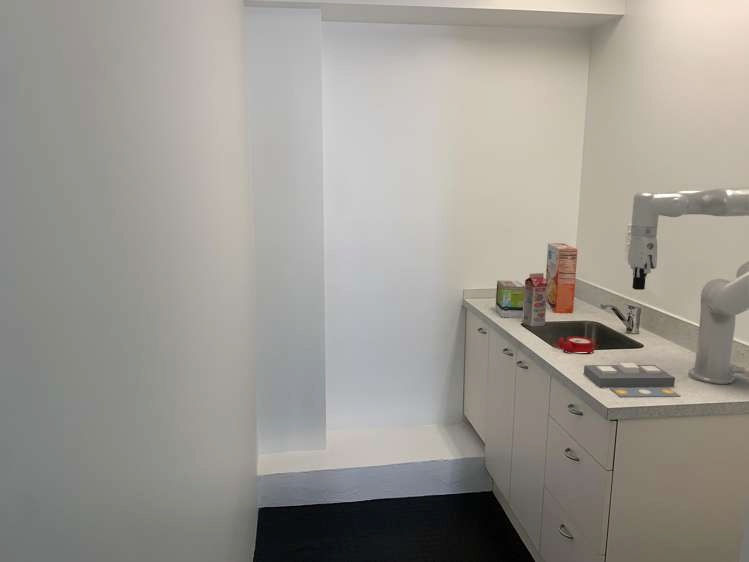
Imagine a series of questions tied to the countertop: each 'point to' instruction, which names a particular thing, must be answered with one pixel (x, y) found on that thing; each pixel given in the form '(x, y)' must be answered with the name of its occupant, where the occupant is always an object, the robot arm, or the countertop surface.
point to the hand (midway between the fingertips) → (638, 289)
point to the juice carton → (535, 300)
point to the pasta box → (561, 277)
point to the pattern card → (644, 392)
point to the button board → (628, 378)
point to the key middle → (628, 368)
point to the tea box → (510, 299)
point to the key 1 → (606, 370)
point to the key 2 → (650, 370)
